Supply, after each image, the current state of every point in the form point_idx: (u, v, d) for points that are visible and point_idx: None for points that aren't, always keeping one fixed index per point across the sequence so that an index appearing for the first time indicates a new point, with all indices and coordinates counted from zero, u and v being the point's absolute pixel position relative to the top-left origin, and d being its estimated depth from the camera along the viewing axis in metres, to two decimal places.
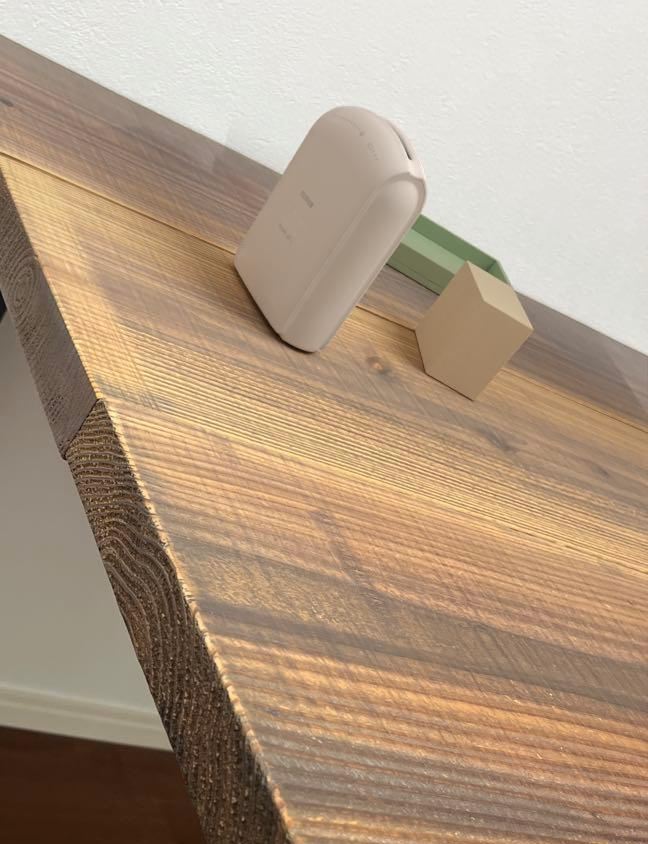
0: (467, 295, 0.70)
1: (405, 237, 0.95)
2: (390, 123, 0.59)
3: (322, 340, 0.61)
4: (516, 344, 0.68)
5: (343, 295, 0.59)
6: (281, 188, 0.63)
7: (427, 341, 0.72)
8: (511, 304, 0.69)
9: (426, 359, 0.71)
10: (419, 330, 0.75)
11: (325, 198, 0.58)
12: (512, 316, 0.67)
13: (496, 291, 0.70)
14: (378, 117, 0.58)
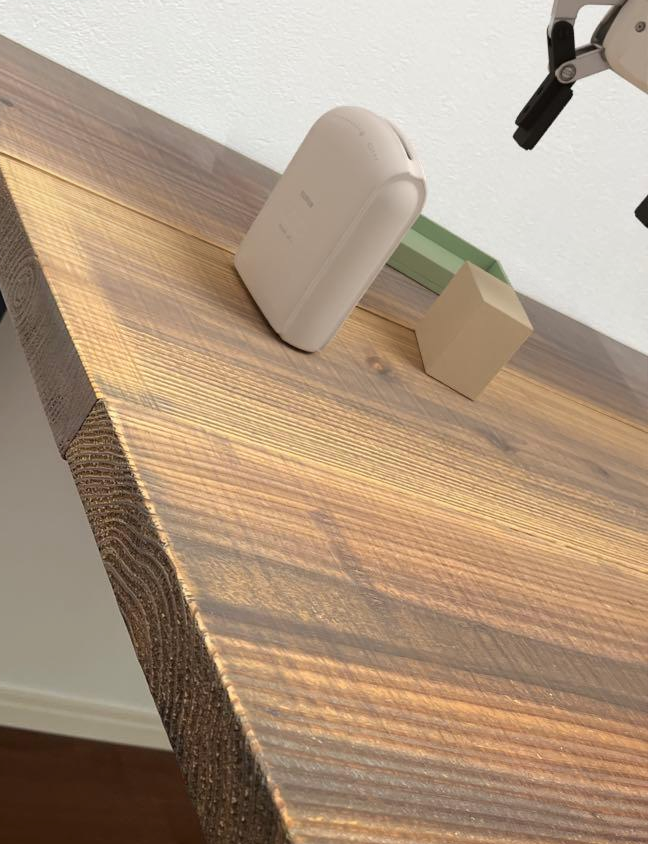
0: (467, 295, 0.70)
1: (405, 237, 0.95)
2: (390, 123, 0.59)
3: (322, 340, 0.61)
4: (516, 344, 0.68)
5: (343, 295, 0.59)
6: (281, 188, 0.63)
7: (427, 341, 0.72)
8: (511, 304, 0.69)
9: (426, 359, 0.71)
10: (419, 330, 0.75)
11: (325, 197, 0.58)
12: (512, 316, 0.67)
13: (496, 291, 0.70)
14: (378, 117, 0.58)
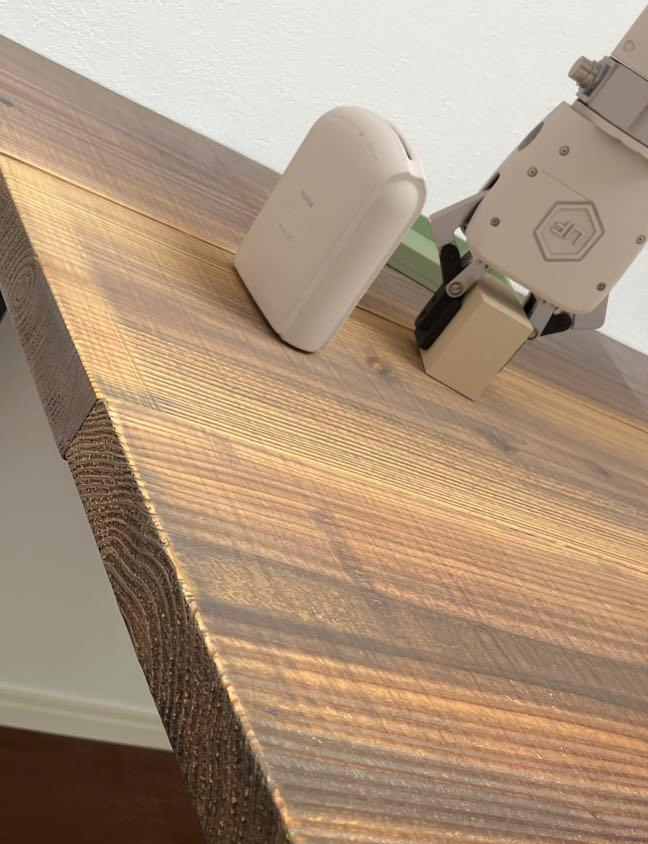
0: (467, 295, 0.70)
1: (405, 237, 0.95)
2: (390, 123, 0.59)
3: (322, 340, 0.61)
4: (516, 344, 0.68)
5: (343, 295, 0.59)
6: (281, 188, 0.63)
7: None
8: (511, 304, 0.69)
9: (426, 359, 0.71)
10: None
11: (325, 198, 0.58)
12: (512, 316, 0.67)
13: (496, 291, 0.70)
14: (378, 117, 0.58)
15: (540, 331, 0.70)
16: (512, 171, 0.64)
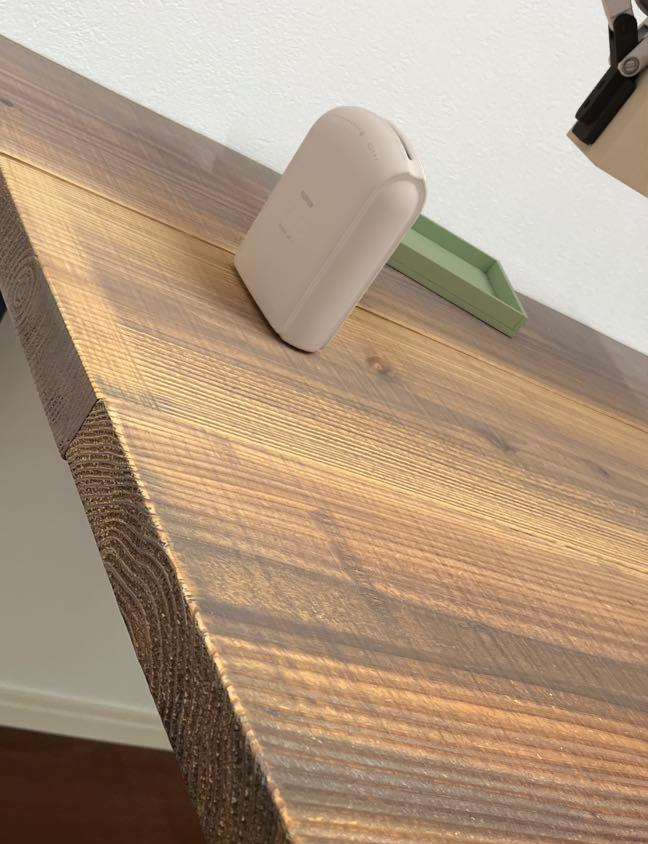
0: (642, 75, 0.61)
1: (405, 237, 0.95)
2: (390, 123, 0.59)
3: (322, 340, 0.61)
4: None
5: (343, 295, 0.59)
6: (281, 188, 0.63)
7: None
8: None
9: (592, 153, 0.62)
10: None
11: (325, 198, 0.58)
12: None
13: None
14: (378, 117, 0.58)
15: None
16: None
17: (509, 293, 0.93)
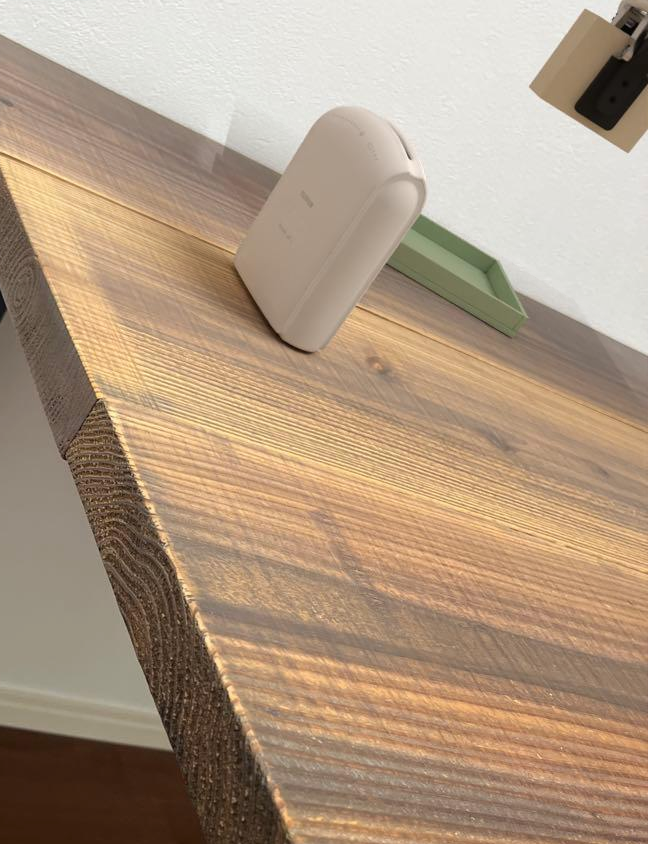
0: None
1: (405, 237, 0.95)
2: (390, 123, 0.59)
3: (322, 340, 0.61)
4: None
5: (343, 295, 0.59)
6: (281, 188, 0.63)
7: None
8: None
9: (615, 138, 0.75)
10: (557, 100, 0.74)
11: (325, 197, 0.58)
12: None
13: None
14: (378, 117, 0.58)
15: None
16: None
17: (509, 293, 0.93)
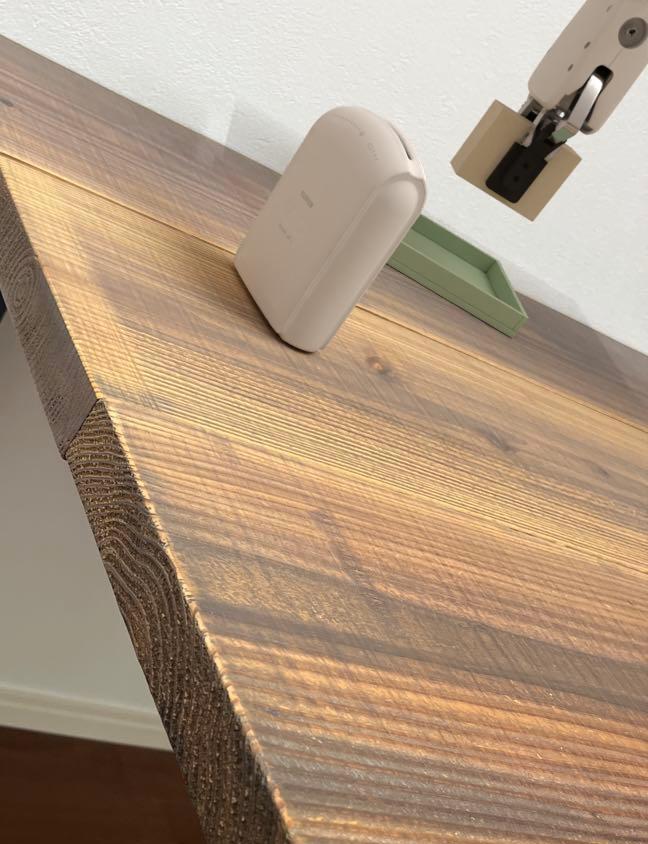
0: None
1: (405, 237, 0.95)
2: (390, 123, 0.59)
3: (322, 340, 0.61)
4: None
5: (343, 295, 0.59)
6: (281, 188, 0.63)
7: None
8: None
9: (520, 209, 0.88)
10: (471, 177, 0.87)
11: (325, 198, 0.58)
12: (574, 151, 0.87)
13: None
14: (378, 117, 0.58)
15: None
16: (632, 71, 0.79)
17: (509, 293, 0.93)
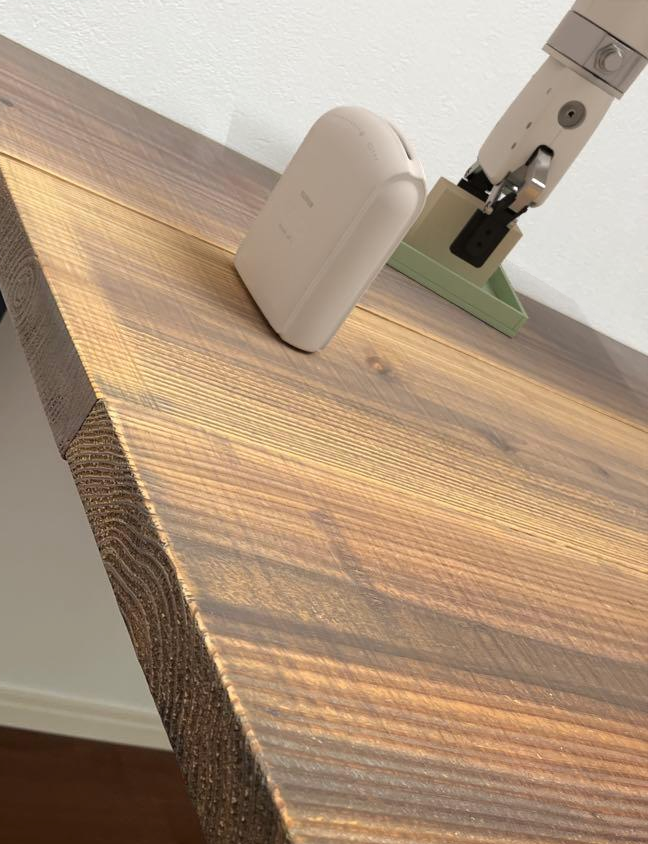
0: None
1: None
2: (390, 123, 0.59)
3: (322, 340, 0.61)
4: None
5: (342, 295, 0.59)
6: (281, 188, 0.63)
7: (449, 263, 0.91)
8: None
9: None
10: (418, 250, 0.91)
11: (325, 197, 0.58)
12: (517, 226, 0.91)
13: (481, 204, 0.90)
14: (378, 117, 0.58)
15: None
16: (572, 150, 0.82)
17: (509, 293, 0.93)
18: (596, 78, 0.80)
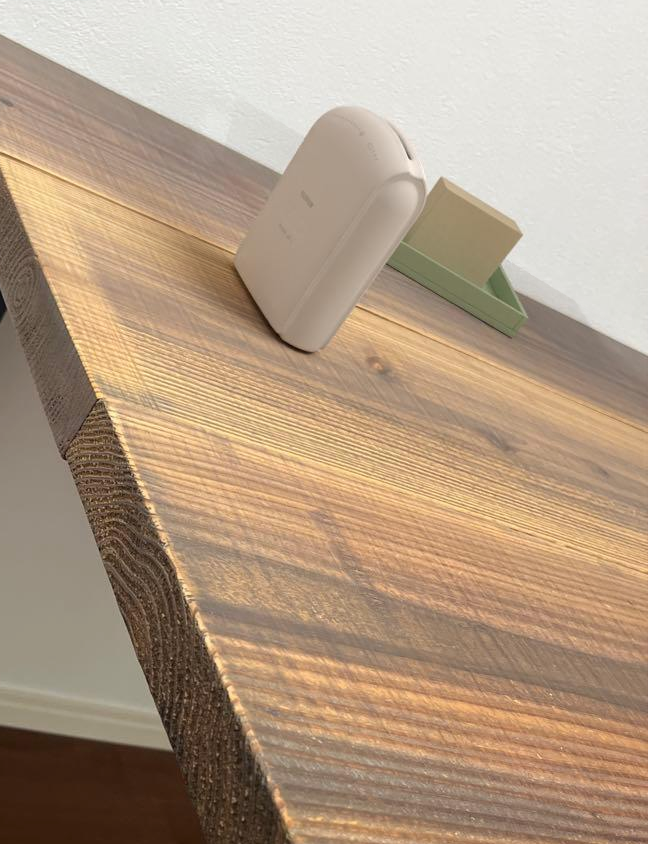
0: (487, 226, 0.89)
1: None
2: (390, 123, 0.59)
3: (322, 340, 0.61)
4: None
5: (343, 295, 0.59)
6: (281, 188, 0.63)
7: (449, 263, 0.91)
8: (490, 208, 0.91)
9: None
10: (418, 250, 0.91)
11: (325, 198, 0.58)
12: (517, 226, 0.91)
13: (481, 204, 0.90)
14: (378, 117, 0.58)
15: None
16: None
17: (509, 293, 0.93)
18: None
